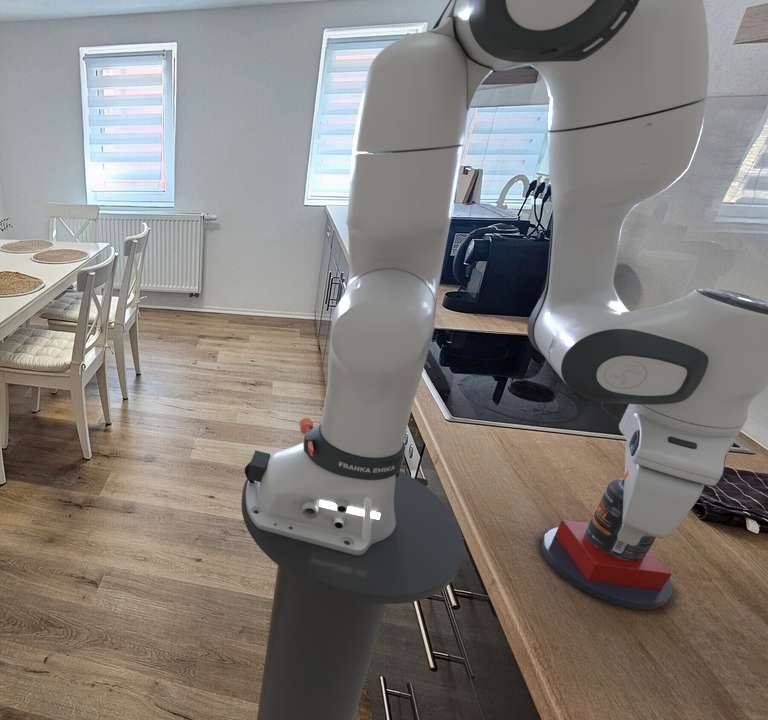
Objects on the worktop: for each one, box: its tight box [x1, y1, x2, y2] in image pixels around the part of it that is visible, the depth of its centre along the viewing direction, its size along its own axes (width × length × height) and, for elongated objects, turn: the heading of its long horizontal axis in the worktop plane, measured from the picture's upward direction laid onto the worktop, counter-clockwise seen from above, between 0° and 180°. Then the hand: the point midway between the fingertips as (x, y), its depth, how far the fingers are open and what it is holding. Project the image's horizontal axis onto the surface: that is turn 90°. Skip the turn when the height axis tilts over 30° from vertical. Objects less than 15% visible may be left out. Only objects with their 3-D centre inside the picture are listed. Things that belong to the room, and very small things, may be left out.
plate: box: [540, 526, 674, 611], centre depth 67 cm, size 13×13×1 cm
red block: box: [555, 519, 672, 590], centre depth 66 cm, size 8×8×3 cm
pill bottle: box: [586, 470, 657, 561], centre depth 63 cm, size 6×6×11 cm
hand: (626, 518), depth 64 cm, fingers open, 8 cm apart
